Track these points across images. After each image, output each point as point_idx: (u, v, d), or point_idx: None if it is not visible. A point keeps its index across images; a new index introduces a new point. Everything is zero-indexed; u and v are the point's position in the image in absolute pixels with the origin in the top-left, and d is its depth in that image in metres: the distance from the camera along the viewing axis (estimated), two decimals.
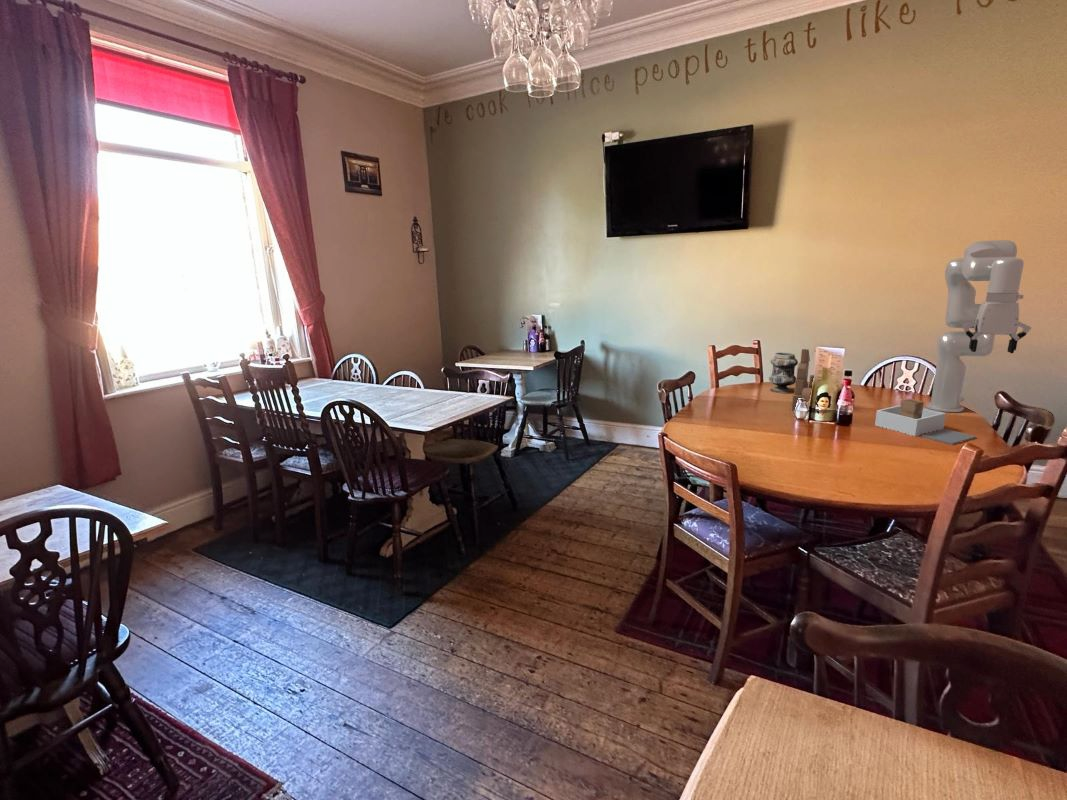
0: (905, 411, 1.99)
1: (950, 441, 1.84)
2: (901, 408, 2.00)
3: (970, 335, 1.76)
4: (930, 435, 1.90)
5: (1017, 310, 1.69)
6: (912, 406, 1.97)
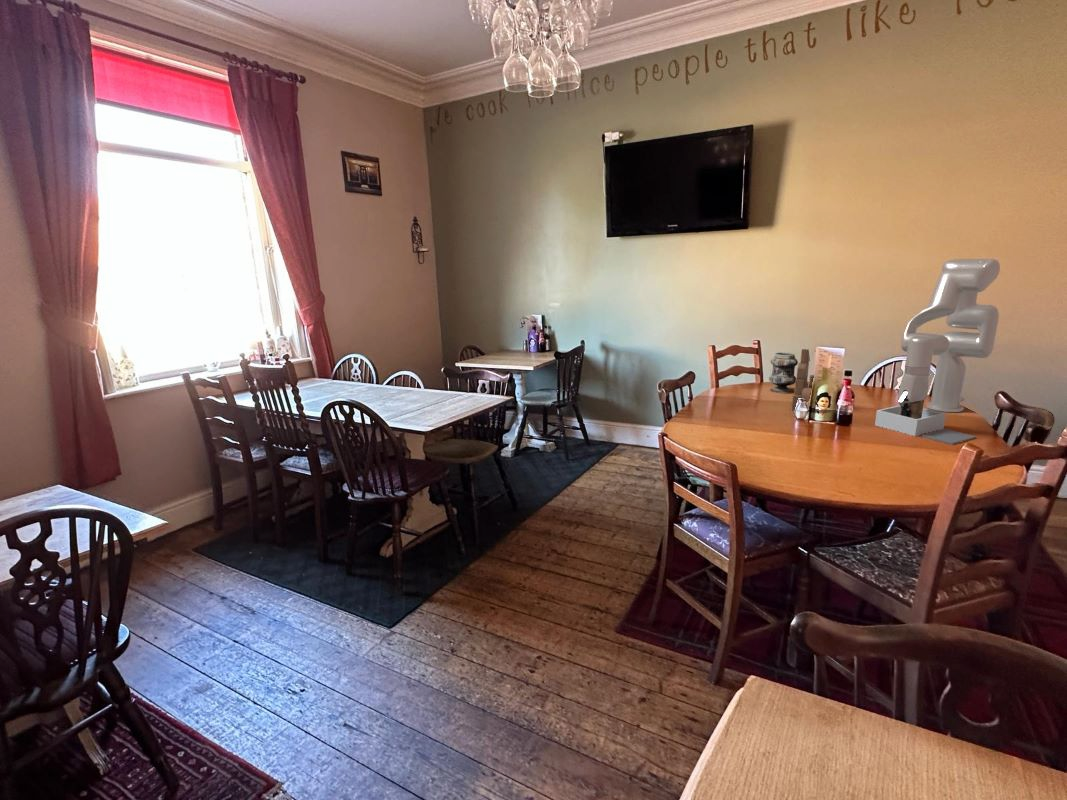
0: None
1: (950, 441, 1.84)
2: None
3: (906, 407, 1.97)
4: (930, 435, 1.90)
5: (928, 380, 1.97)
6: (912, 406, 1.97)
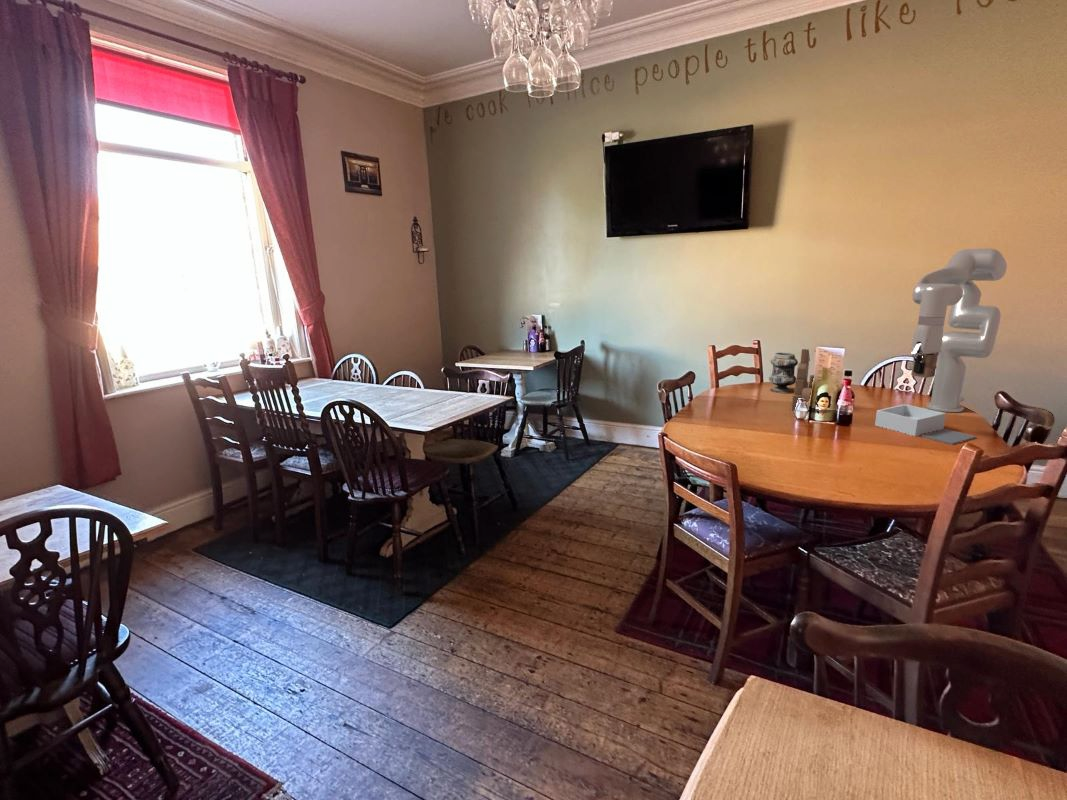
0: None
1: (950, 441, 1.84)
2: None
3: (919, 359, 1.90)
4: (930, 435, 1.90)
5: (942, 331, 1.90)
6: (926, 358, 1.90)
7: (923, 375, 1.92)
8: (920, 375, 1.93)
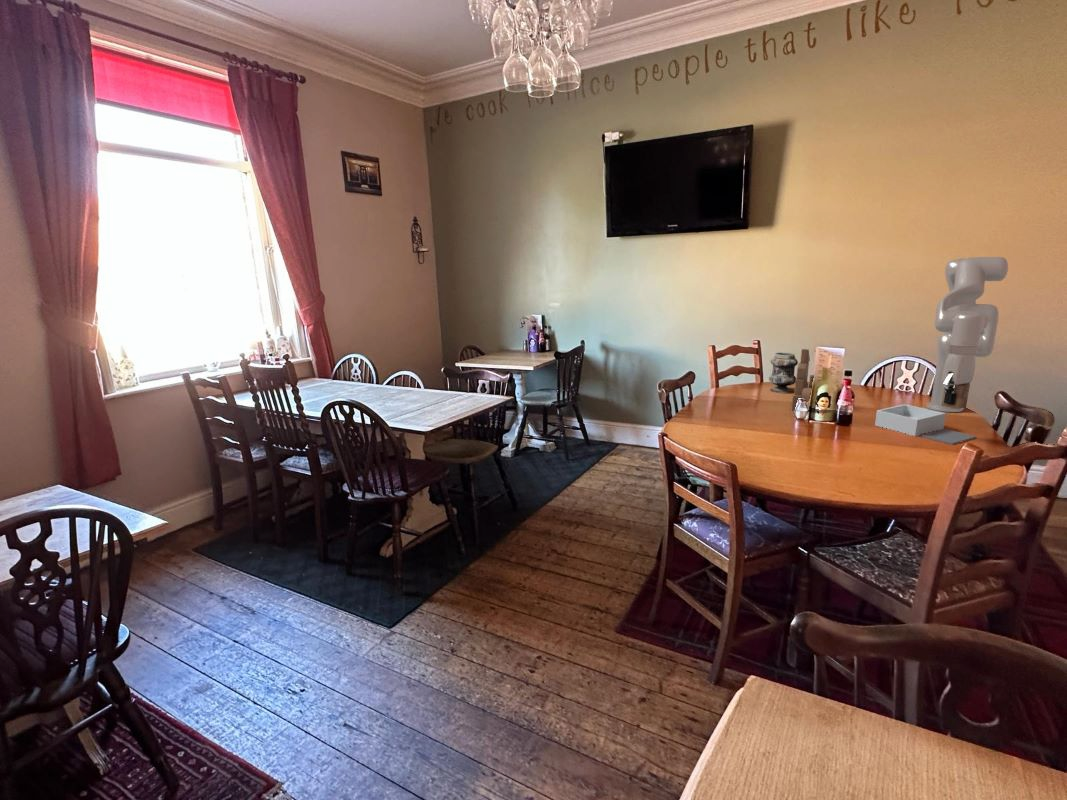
0: None
1: (950, 441, 1.84)
2: None
3: (951, 390, 1.82)
4: (930, 435, 1.90)
5: None
6: (958, 388, 1.82)
7: (955, 406, 1.84)
8: (951, 406, 1.85)
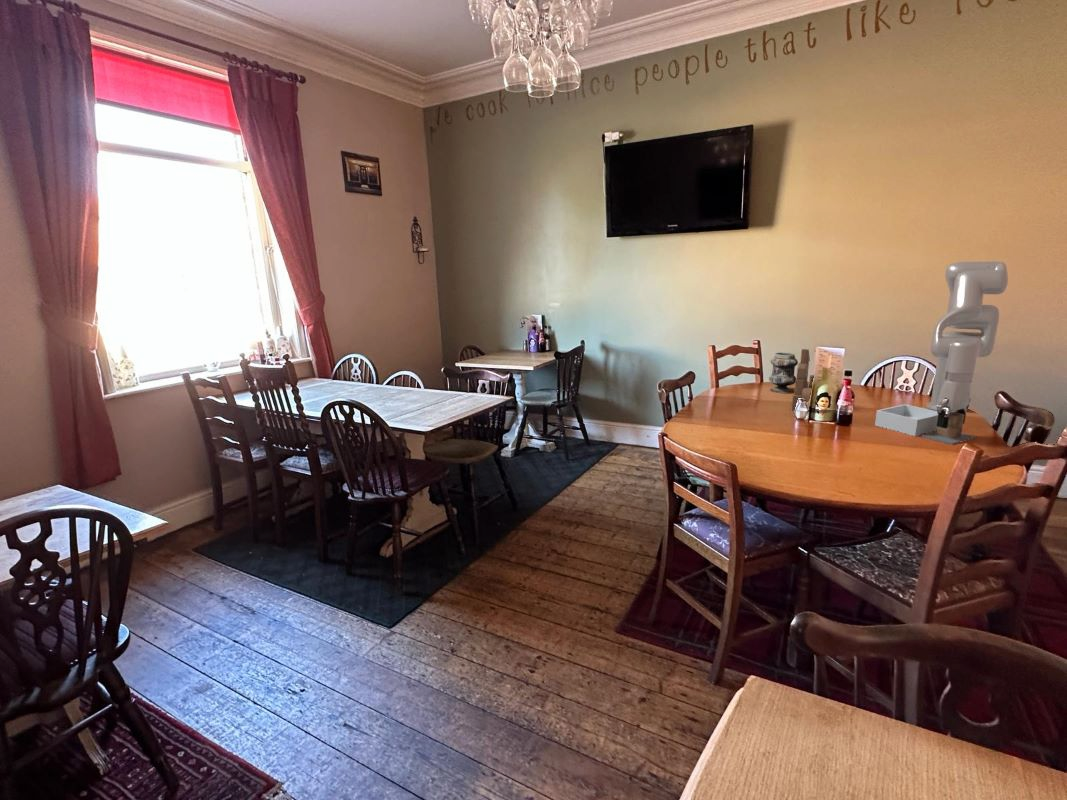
0: None
1: (950, 441, 1.84)
2: None
3: (944, 413, 1.84)
4: (930, 435, 1.90)
5: (970, 386, 1.85)
6: (953, 419, 1.85)
7: (949, 436, 1.87)
8: (946, 435, 1.88)
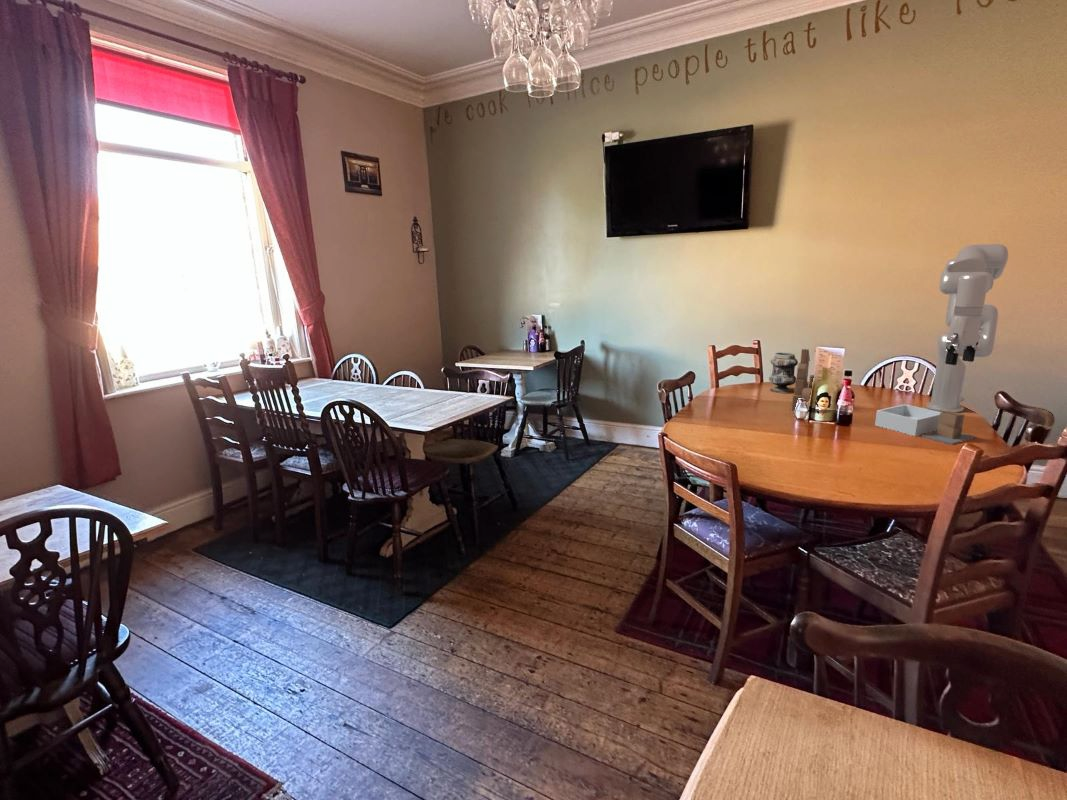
0: (945, 424, 1.88)
1: (950, 441, 1.84)
2: (940, 421, 1.89)
3: (953, 349, 1.79)
4: (930, 435, 1.90)
5: (980, 322, 1.80)
6: (953, 419, 1.85)
7: (949, 436, 1.87)
8: (946, 435, 1.88)
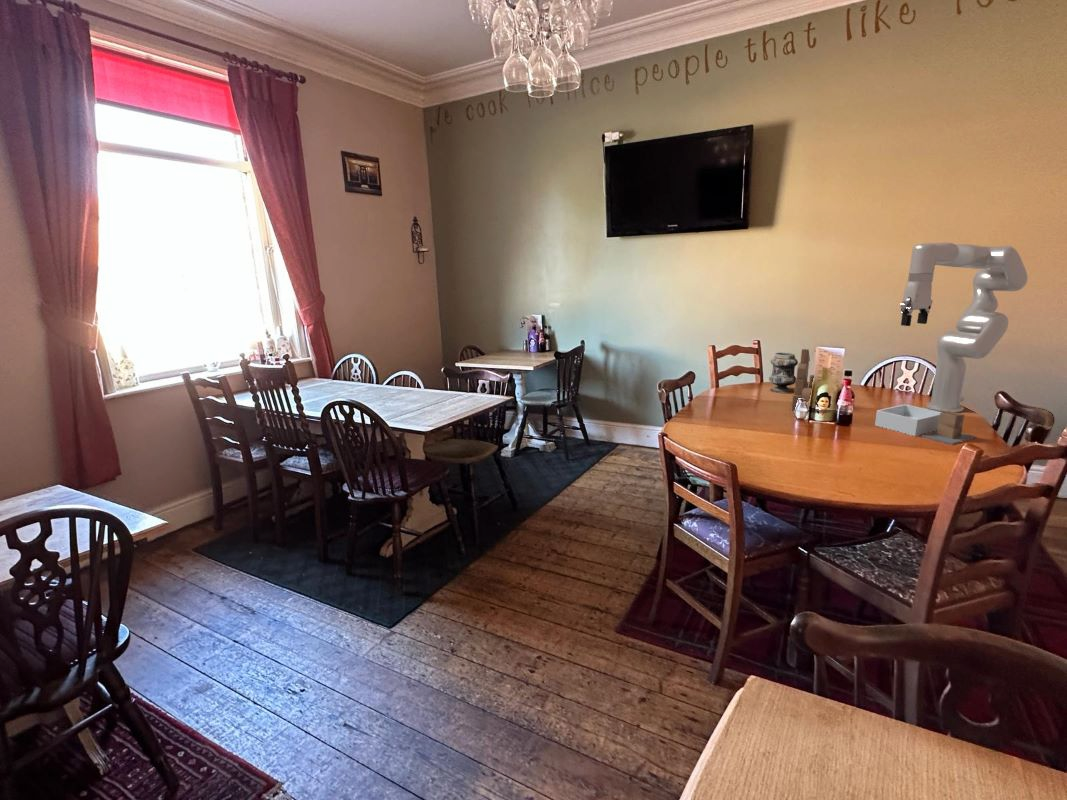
0: (945, 424, 1.88)
1: (950, 441, 1.84)
2: (940, 421, 1.89)
3: (907, 311, 2.01)
4: (930, 435, 1.90)
5: (931, 287, 2.02)
6: (953, 419, 1.85)
7: (949, 436, 1.87)
8: (946, 435, 1.88)
